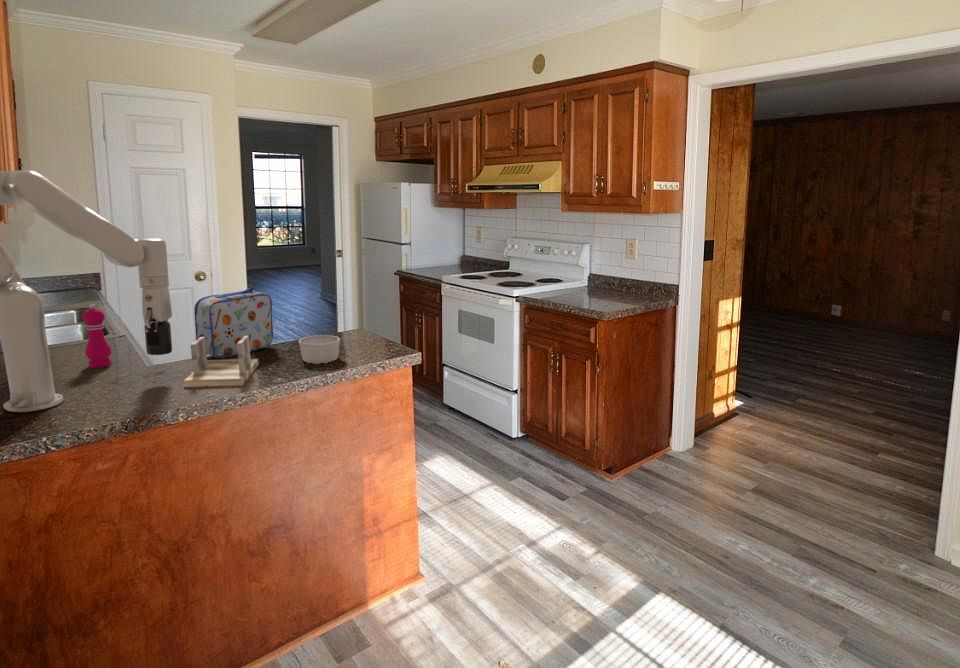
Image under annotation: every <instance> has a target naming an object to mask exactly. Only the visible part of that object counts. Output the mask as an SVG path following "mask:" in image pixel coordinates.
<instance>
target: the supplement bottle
mask: <svg viewBox="0 0 960 668" xmlns="http://www.w3.org/2000/svg"><path fill="white" fill-rule="evenodd" d="M151 321H156V320H151ZM153 325H154V327H155V324H153ZM143 326H144V327H143V328H144V336H145V337H144V338H145V351H146V354H148V356H149V355H150V356H160V355H161V356H163V355H168V354H171V353H172V351H173V343H172V331H171V330H172V329H171V323H170V322H169V320H168V321H164V322H162V323H160V322H158V332H159V337H160V345H159V346H148V343H147V332H146V326H145V325H143Z"/></svg>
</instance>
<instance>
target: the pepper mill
mask: <svg viewBox="0 0 960 668" xmlns="http://www.w3.org/2000/svg"><path fill="white" fill-rule="evenodd" d="M88 308H89V309H86V310H85V311H84V312H83V313H82V321H83V322H84V323H86V324H85V330H87V332H88V341H87V344H86V346H85V357H86V358H87V359H89V360H88V367H89V368H90V369H99V368H100V369H101V368H106V367H107V368H108V367H110V366H111V365H112V363H113V362H112V359H111V358H110V356H111V355H112V353H113V352H112V348H111V346H110V344H109V343H108V341H107V339H106V338H105V335H104V328H105V326H104V325H105V323H104V320H106V319H105V318H106V315H105V312H104V311H102V310H101V309H99V308H97V307H96V304H94V303H91V304H89V306H88Z"/></svg>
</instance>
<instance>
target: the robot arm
mask: <svg viewBox="0 0 960 668" xmlns="http://www.w3.org/2000/svg"><path fill="white" fill-rule="evenodd" d="M6 205H7V206H8V205H9V206H10V205H23V206H25V207H26V208H28V209H30V210H31V211H32V212H34V213H35V214H37V215H38V216H40V217H41V218H42V219H44V220H46V221H47V222H48V223H50V224H52V225H53V226H55V227H56V228H57V229H59V230H61V231H62V232H64V233H66V235H67V234H68V235H70V236H71V237H74V238H76V239H78V240H81V241H83V242H85V243H87V244H89V245H91V246H92V247H94V248H96V249H97V250H99V251H100V252H102V253H103V255H104V257H105V259H106V260H107V261H109V262H110V263H111V264H114V265H117V266H121V267H125V268H135V267H137V268H138V281H139V283H138V284H139V288H141V298H142V299H141V305H142V307H141V308H142V318H143V319H142V320H143V324H144V326H146V332H147V343H148V346H159V345H160V337H159V332H158V322H160V323H162V322H164V321H168V322H169V319H171V318H172V316H173V313H172V304H171V303H172V301H171V297H170V296H171V295H170V290H169V287H170V284H169V283H170V280H169V269H168V268H169V267H168V253H167V244H166V241H165V240H164V239H163V238H162V239H161V238H140V239H135V238H133V237H132V236H130V235H129V234H127V233H126V232H124V231H123V230H122V229H120V228H119V227H117V226H116V225H115V224H113V223H111V222H110V221H109V220H106V218H104V217H102V216H101V215H99V214H97V213H96V212H95V211H94V210H92V209H90V208H89V207H87V205H84V204H83V203H82V202H80V201H79V200H78V199H75V197H73V196H72V195H70V194H68V193H67V192H66V191H65V190H64V189H62V188H60V187H59V186H58V185H56V184H54V182H52V181H50V180H49V179H48V178H47V177H45V176H43V175H42V174H40V173H38V172H36V171H33V170H30V169H29V170H28V169H21V170H20V169H19V170H4V171H3V170H0V206H6ZM45 319H46V318H45V305H44V303H43V299H42V297H41V296H40V294H39V293H38V292H37V291H36V290H34V289H33V288H32V287H29V286H28V285H27V284H26V282H25V281H24V279H23V278H22V276H21V275H20V273H19V272H18V270H17V268H16V262H15V260H14V258H13V256H12V254H10V252H9V251H8V250H7V248H6V247H5V245H4V244H3V243H2V241H1V240H0V342H1V348H2V352H3V358H4V364H5V365H4V366H5V370H6V375H7V381H8V387H9V396H10V397H9V398H10V399H9V400H7V401H6V402H4V403H3V404H2V407H3V408H4V410H6V411H7V412H11V413H28V412H34V411H41V410H45V409H49V408H52V407H55V406H58V405H60V404H62V402H64V395H62V394H60V393H56V389H55V381H54V377H53V369H52V362H51V357H50V349H49V343H48V337H47V331H46V330H47V329H46V320H45ZM151 320H156V321H151ZM153 324H155V327H154V325H153Z"/></svg>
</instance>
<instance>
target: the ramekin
mask: <svg viewBox="0 0 960 668" xmlns="http://www.w3.org/2000/svg"><path fill="white" fill-rule="evenodd" d="M340 343H341V339H340V338H339V336H335V335H329V334H325V335H323V334H320V335H316V334H315V335H310V336H305V337H301V338H300V339H299V340H298V346H299V350H300V354H301V355H300V356H301V359H302V360H303V361H304V362H305V363H306V362H307V363H306V364H310V363H313V364H314V365H321V364H320V363H324V364H328V363H327V362H330V363H332V362H331V361H333V362H335V361H337V359H338V358H339V355H340V353H339V352H340ZM334 360H335V361H334ZM313 364H312V365H313Z"/></svg>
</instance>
